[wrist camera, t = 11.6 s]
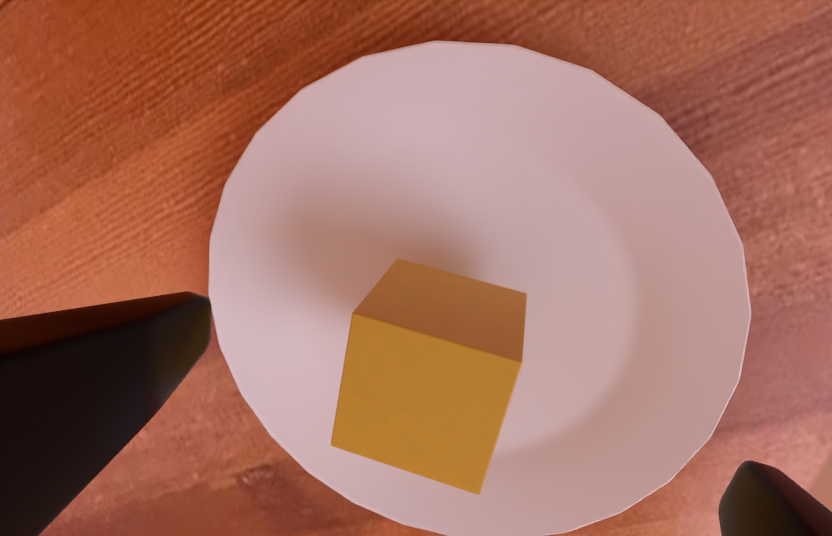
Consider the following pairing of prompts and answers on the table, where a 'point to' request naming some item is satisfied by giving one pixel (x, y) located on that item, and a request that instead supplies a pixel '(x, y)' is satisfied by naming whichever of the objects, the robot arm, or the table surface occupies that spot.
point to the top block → (430, 373)
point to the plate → (488, 274)
